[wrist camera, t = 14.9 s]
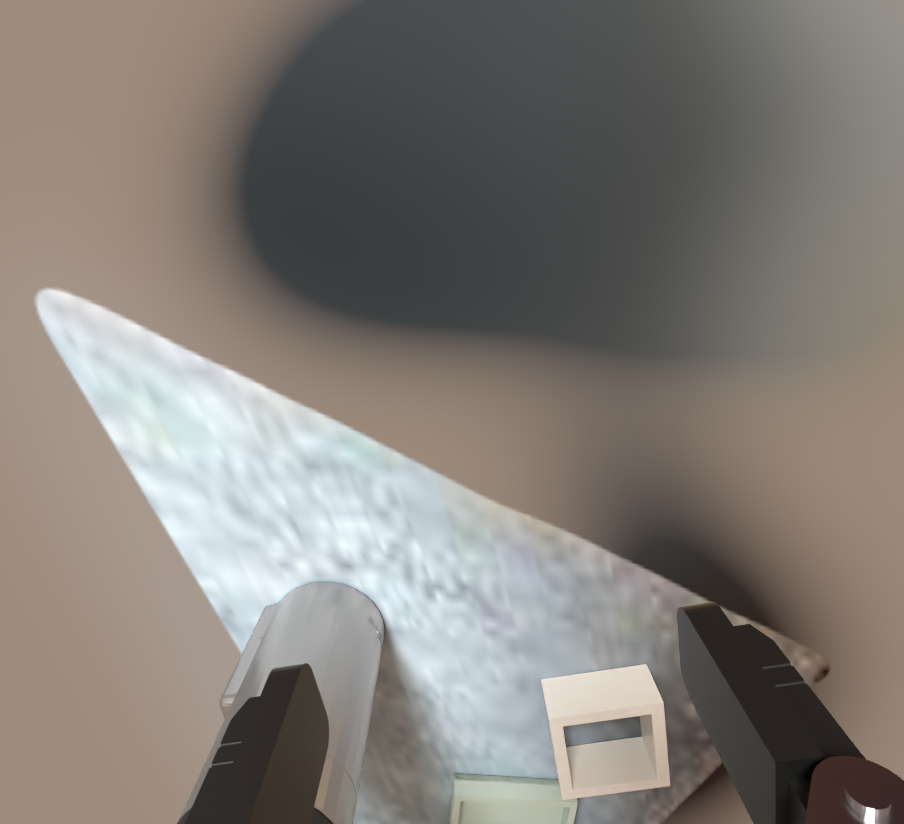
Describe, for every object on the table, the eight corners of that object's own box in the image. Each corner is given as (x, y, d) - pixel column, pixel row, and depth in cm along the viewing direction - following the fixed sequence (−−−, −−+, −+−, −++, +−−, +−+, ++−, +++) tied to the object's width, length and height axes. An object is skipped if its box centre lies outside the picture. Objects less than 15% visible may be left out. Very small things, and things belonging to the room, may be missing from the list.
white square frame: (553, 756, 50) (562, 800, 47) (540, 679, 47) (548, 718, 44) (653, 743, 50) (670, 785, 46) (646, 664, 47) (663, 702, 43)
